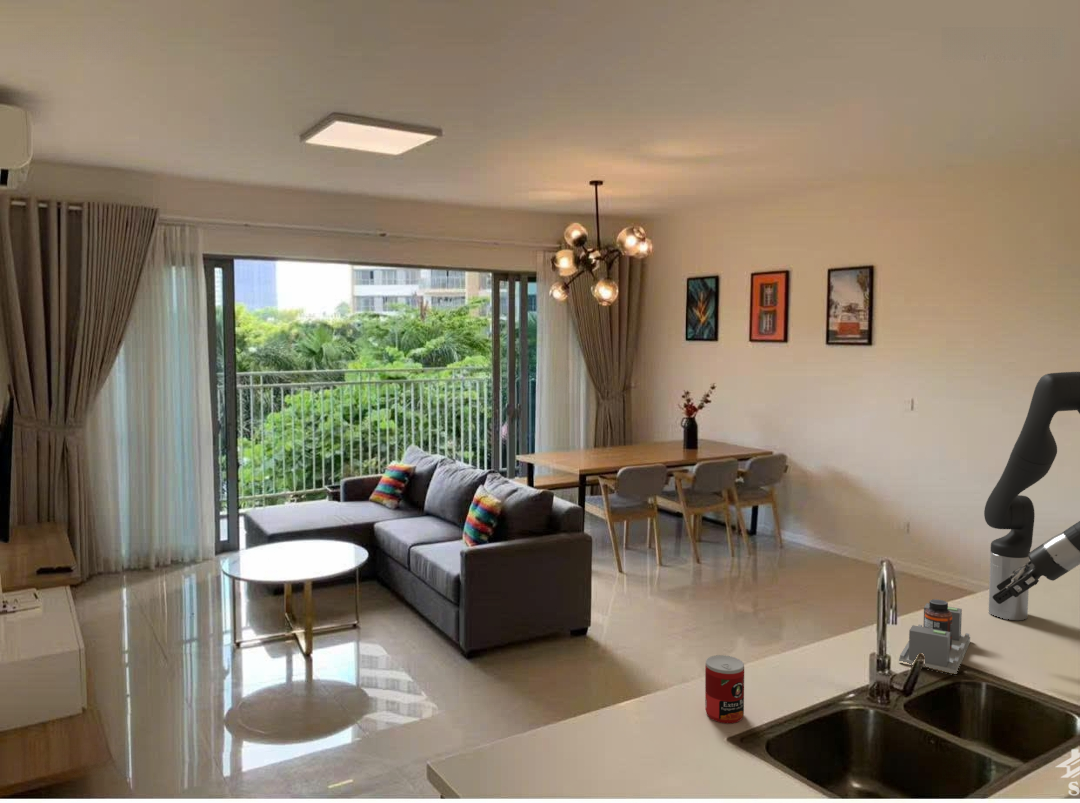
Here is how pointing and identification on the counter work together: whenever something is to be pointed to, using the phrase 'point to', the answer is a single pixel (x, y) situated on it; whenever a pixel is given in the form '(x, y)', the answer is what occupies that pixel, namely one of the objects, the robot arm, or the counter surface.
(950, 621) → the supplement bottle
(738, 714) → the canned food
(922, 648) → the board
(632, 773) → the counter surface
